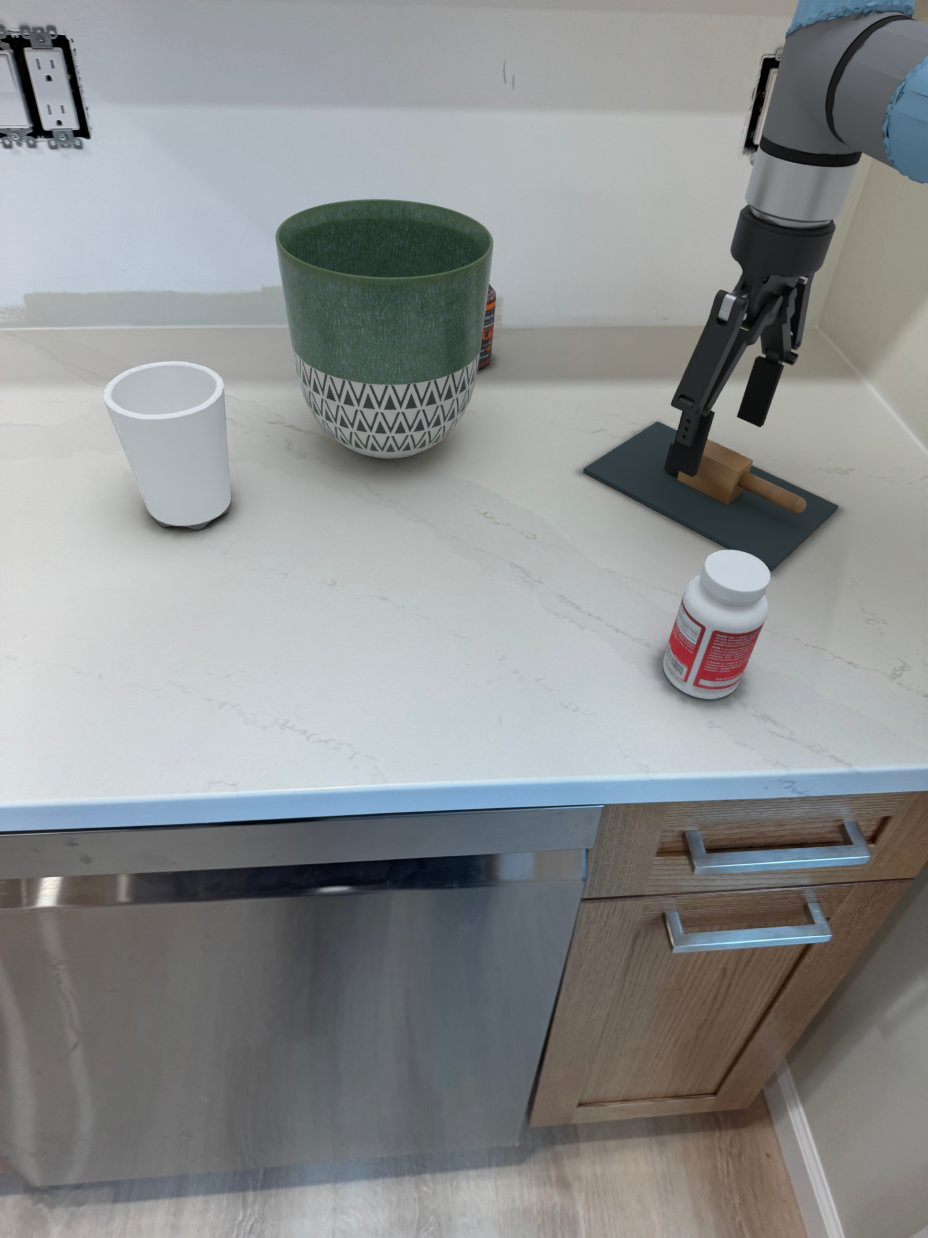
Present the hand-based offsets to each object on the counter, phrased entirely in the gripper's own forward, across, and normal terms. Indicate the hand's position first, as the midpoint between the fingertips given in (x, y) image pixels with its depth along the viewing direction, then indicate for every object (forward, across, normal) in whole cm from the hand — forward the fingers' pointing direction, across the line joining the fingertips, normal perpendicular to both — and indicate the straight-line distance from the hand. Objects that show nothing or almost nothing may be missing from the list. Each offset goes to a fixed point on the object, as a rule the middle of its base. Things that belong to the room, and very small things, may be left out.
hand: (717, 444), depth 80 cm
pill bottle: (+6, +22, +13) cm, 26 cm away
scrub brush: (+5, -1, +3) cm, 6 cm away
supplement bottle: (+6, -3, -36) cm, 37 cm away
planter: (+6, +17, -29) cm, 34 cm away
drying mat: (+6, -1, 0) cm, 6 cm away
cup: (+6, +39, -33) cm, 51 cm away
